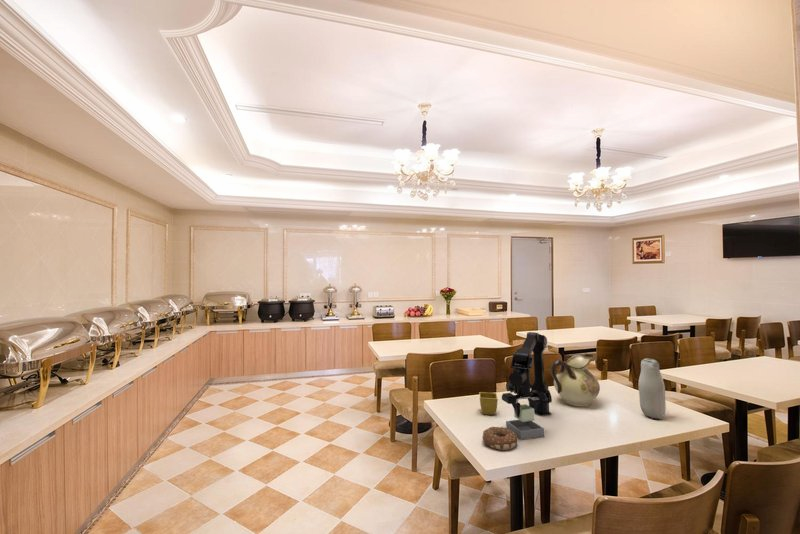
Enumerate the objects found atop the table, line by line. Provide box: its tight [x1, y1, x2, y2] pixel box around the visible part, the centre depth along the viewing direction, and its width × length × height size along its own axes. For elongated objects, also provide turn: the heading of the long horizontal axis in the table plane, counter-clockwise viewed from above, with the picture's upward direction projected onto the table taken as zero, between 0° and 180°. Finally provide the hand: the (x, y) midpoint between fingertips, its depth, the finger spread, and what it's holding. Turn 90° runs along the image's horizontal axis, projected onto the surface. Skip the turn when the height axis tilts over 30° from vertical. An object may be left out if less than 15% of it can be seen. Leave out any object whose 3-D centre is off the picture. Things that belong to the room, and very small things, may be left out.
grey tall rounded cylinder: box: [637, 357, 667, 419], centre depth 166 cm, size 10×10×28 cm
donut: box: [482, 426, 519, 451], centre depth 140 cm, size 14×14×5 cm
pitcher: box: [550, 353, 601, 408], centre depth 186 cm, size 22×24×25 cm
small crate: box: [513, 403, 536, 422], centre depth 150 cm, size 6×6×5 cm
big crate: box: [505, 419, 545, 441], centre depth 150 cm, size 11×11×4 cm
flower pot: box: [478, 391, 499, 416], centre depth 173 cm, size 9×9×9 cm
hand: (524, 416), depth 150 cm, fingers closed on small crate, 6 cm apart
